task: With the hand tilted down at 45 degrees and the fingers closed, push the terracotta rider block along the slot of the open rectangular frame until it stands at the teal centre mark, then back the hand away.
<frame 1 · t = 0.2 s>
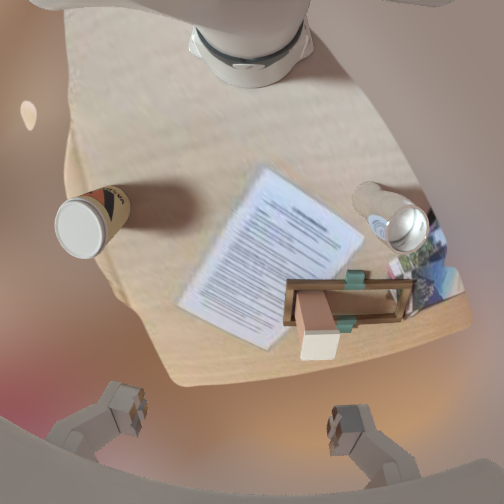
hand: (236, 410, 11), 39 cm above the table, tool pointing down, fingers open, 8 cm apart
rider: (314, 322, 49), point 7 cm above the table, slide at -8.0 cm
open rectangular frame: (348, 300, 55), on the table
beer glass: (367, 199, 47), on the table
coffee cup: (112, 206, 48), on the table
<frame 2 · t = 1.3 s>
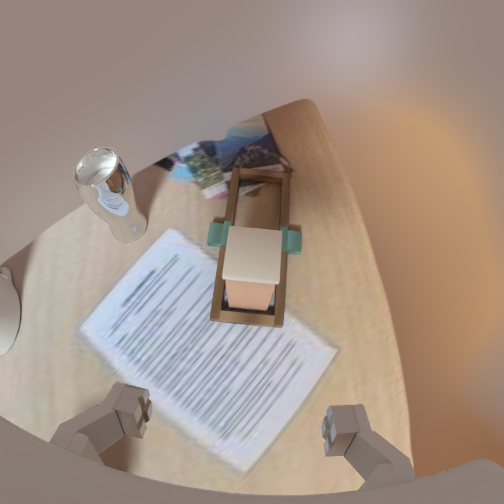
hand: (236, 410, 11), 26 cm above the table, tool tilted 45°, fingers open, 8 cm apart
rider: (251, 275, 35), point 7 cm above the table, slide at -8.0 cm
open rectangular frame: (254, 241, 44), on the table
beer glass: (129, 227, 45), on the table
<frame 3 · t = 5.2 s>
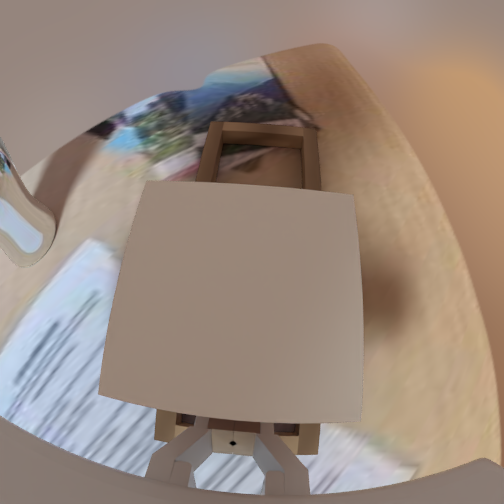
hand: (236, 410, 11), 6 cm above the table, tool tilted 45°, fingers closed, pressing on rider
rider: (242, 337, 12), point 7 cm above the table, slide at -6.4 cm, touching gripper
open rectangular frame: (252, 261, 21), on the table
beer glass: (32, 238, 21), on the table
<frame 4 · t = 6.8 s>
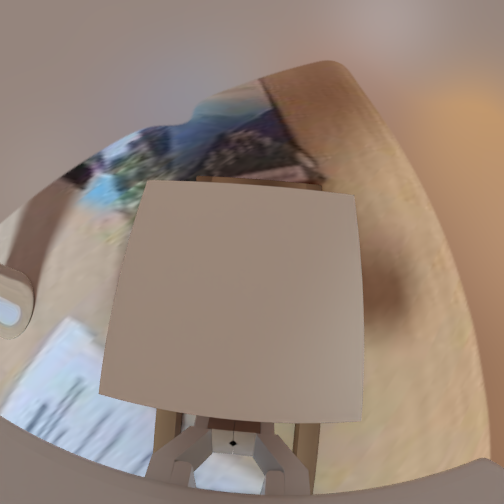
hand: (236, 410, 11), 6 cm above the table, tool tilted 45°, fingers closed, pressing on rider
rider: (242, 337, 12), point 7 cm above the table, slide at 0.2 cm, touching gripper
open rectangular frame: (243, 357, 18), on the table
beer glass: (12, 305, 19), on the table
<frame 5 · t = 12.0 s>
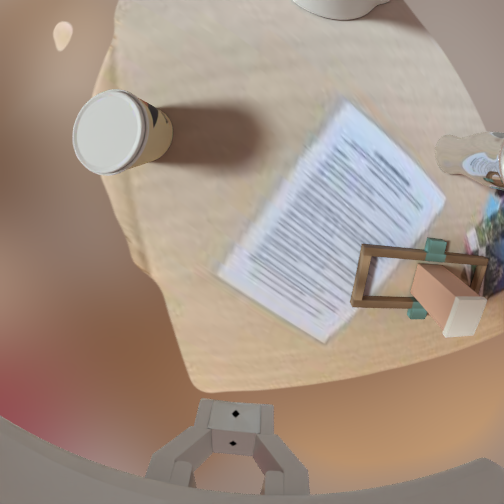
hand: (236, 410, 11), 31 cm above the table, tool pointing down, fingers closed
rider: (445, 296, 36), point 7 cm above the table, slide at 0.2 cm
open rectangular frame: (425, 278, 42), on the table
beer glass: (449, 154, 35), on the table
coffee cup: (147, 134, 37), on the table
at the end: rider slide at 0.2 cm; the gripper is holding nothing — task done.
